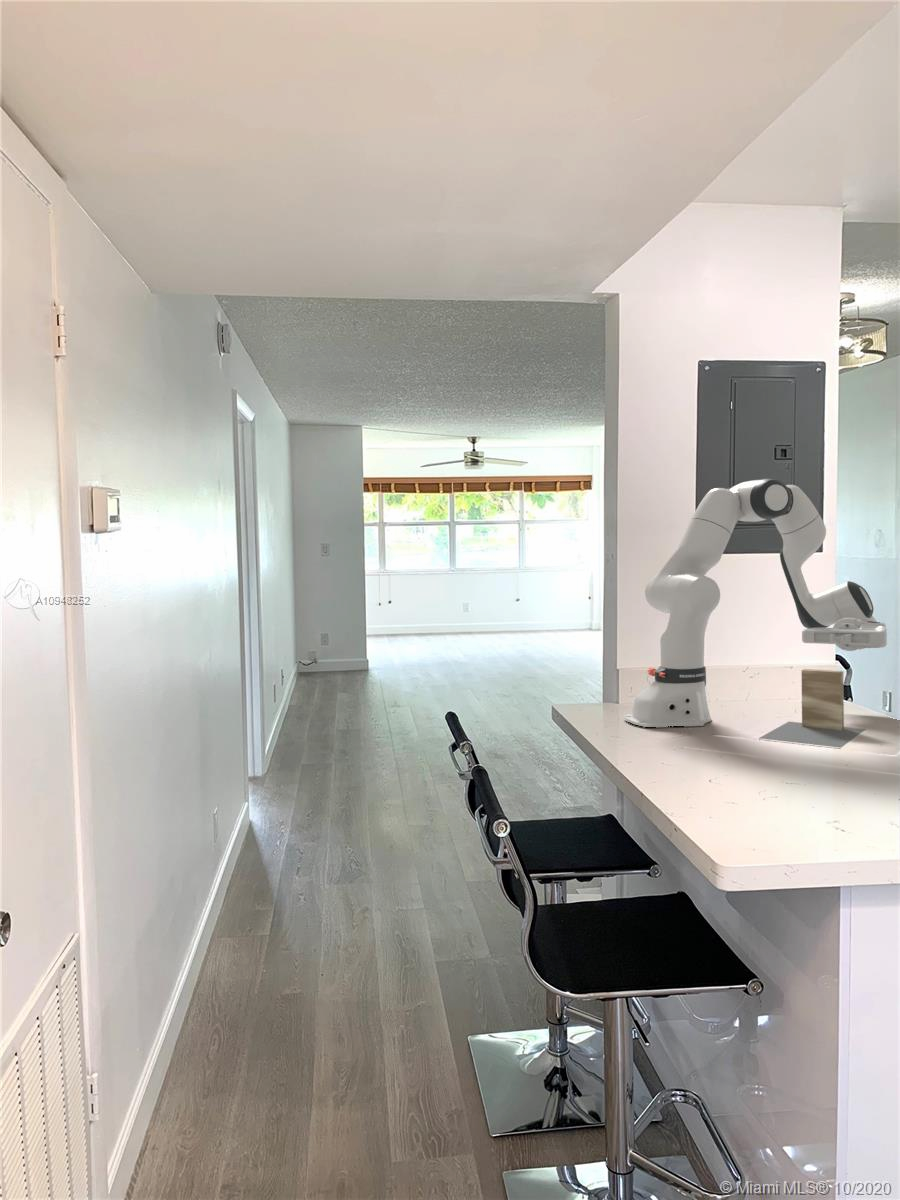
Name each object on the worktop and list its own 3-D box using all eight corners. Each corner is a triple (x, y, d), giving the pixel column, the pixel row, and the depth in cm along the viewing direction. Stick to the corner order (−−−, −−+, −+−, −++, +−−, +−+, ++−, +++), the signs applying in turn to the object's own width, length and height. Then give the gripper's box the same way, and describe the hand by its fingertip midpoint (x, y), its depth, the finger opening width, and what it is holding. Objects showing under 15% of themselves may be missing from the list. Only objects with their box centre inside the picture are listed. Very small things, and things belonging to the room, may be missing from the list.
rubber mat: (788, 723, 214) (788, 721, 214) (865, 730, 203) (865, 729, 203) (758, 739, 197) (758, 738, 197) (840, 749, 186) (840, 747, 186)
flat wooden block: (805, 724, 210) (804, 668, 209) (844, 728, 204) (843, 671, 204) (802, 726, 208) (801, 670, 207) (840, 730, 202) (840, 672, 201)
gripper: (809, 621, 231) (793, 626, 221) (891, 622, 218) (879, 628, 208) (810, 644, 232) (794, 650, 221) (892, 647, 219) (879, 653, 208)
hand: (836, 639), depth 214 cm, fingers closed
